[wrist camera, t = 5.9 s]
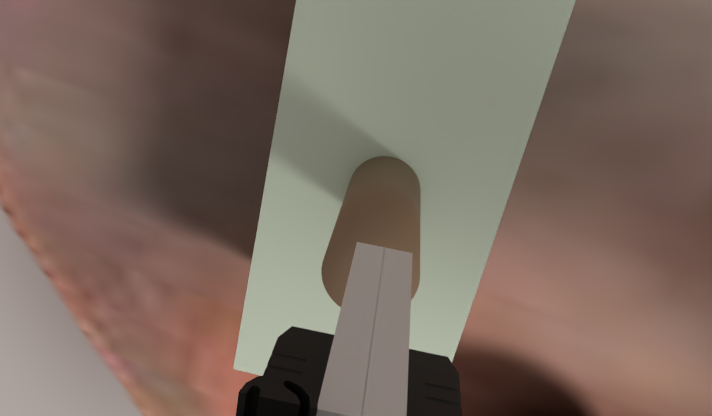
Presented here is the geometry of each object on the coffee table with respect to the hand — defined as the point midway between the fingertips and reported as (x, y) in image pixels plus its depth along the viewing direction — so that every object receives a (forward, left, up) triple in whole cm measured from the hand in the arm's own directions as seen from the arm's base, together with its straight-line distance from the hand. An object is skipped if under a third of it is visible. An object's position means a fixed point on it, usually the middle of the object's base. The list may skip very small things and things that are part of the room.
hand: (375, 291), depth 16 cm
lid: (0, +2, -16) cm, 16 cm away
